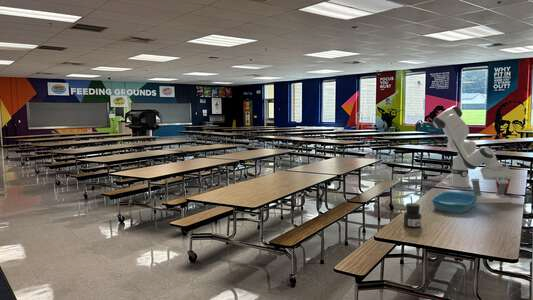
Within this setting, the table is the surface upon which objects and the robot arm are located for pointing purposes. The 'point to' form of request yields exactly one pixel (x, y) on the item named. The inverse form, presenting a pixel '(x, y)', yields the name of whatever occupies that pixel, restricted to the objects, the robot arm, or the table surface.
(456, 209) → the casserole dish
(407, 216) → the ink bottle
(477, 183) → the lever
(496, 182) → the plastic cup
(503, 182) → the lever
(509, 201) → the switch panel
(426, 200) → the table surface
